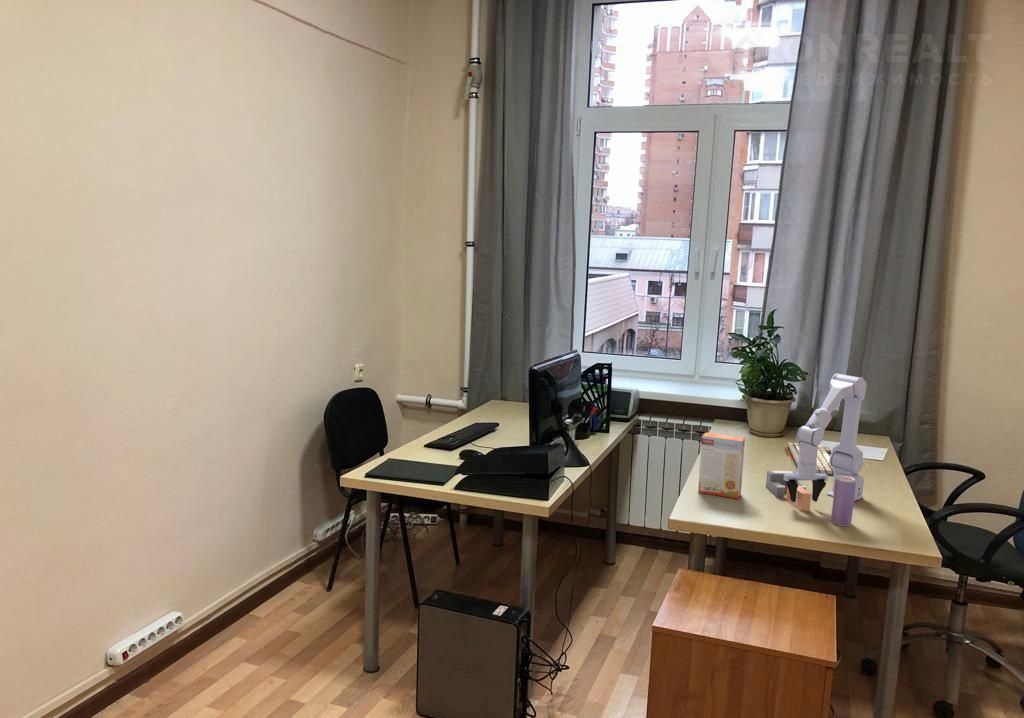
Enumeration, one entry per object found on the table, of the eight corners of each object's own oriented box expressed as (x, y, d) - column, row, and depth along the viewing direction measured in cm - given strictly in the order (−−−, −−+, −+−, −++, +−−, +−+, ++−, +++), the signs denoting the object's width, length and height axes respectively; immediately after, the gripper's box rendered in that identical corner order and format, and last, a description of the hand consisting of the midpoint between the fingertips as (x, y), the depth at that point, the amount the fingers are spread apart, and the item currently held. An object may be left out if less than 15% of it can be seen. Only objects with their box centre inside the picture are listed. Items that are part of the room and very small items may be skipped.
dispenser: (765, 486, 272) (767, 470, 271) (793, 487, 272) (794, 470, 271) (776, 497, 261) (778, 480, 260) (805, 498, 262) (806, 480, 260)
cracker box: (741, 494, 263) (746, 437, 260) (738, 499, 258) (742, 441, 255) (701, 487, 270) (705, 431, 266) (697, 492, 264) (701, 435, 261)
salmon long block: (785, 499, 260) (787, 483, 259) (794, 499, 260) (795, 483, 259) (800, 511, 249) (802, 494, 248) (809, 511, 249) (811, 493, 248)
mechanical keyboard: (848, 479, 286) (849, 470, 285) (795, 475, 290) (796, 466, 289) (828, 452, 322) (829, 444, 322) (782, 448, 326) (782, 441, 326)
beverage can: (849, 528, 235) (854, 482, 233) (829, 523, 238) (834, 478, 236) (852, 522, 240) (857, 477, 238) (832, 518, 243) (837, 473, 241)
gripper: (821, 458, 253) (818, 496, 255) (780, 458, 252) (777, 496, 254) (832, 464, 246) (828, 503, 248) (790, 464, 245) (787, 504, 247)
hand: (803, 500), depth 251 cm, fingers open, 7 cm apart
